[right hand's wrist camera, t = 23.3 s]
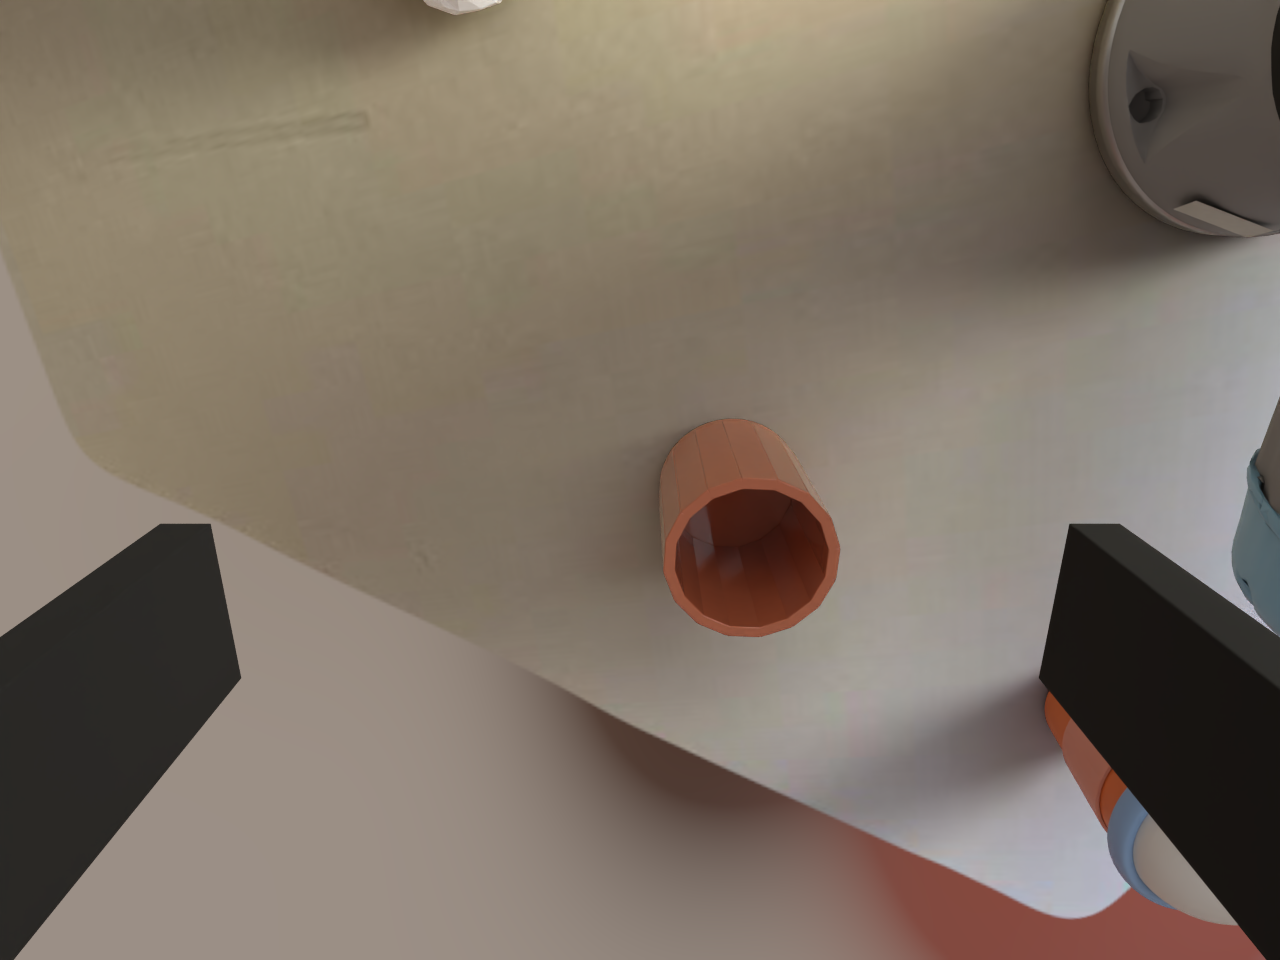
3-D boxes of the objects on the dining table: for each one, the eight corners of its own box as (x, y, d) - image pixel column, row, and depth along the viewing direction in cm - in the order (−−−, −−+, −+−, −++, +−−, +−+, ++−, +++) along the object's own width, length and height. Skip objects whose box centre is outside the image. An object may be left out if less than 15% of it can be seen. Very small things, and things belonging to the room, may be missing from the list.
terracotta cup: (697, 395, 41) (712, 449, 32) (825, 453, 42) (871, 521, 34) (636, 517, 43) (635, 598, 35) (758, 569, 44) (786, 660, 36)
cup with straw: (996, 753, 48) (1188, 1059, 31) (1048, 621, 45) (1291, 882, 28) (1141, 773, 49) (1407, 1086, 32) (1201, 644, 46) (1532, 915, 29)
